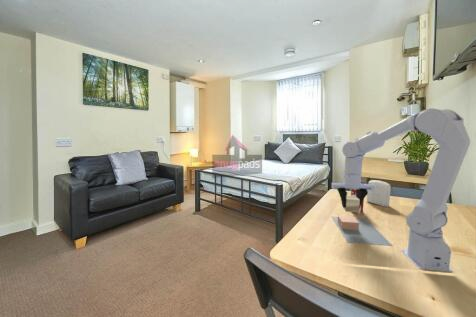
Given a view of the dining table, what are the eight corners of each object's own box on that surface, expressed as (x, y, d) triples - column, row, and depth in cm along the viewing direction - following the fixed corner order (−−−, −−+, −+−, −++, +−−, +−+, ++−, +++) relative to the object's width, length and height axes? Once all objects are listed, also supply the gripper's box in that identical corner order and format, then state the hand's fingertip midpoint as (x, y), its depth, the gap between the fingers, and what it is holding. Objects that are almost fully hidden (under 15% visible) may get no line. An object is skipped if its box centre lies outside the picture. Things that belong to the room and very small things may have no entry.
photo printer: (390, 206, 106) (392, 182, 104) (386, 207, 104) (388, 183, 102) (370, 200, 115) (371, 178, 113) (365, 201, 113) (366, 179, 111)
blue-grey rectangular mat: (392, 247, 69) (393, 245, 69) (347, 243, 72) (347, 242, 72) (365, 219, 90) (365, 218, 90) (331, 217, 93) (331, 216, 93)
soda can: (364, 214, 95) (366, 189, 94) (352, 214, 96) (353, 189, 95) (360, 210, 100) (361, 186, 99) (348, 210, 102) (350, 186, 100)
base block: (358, 230, 80) (359, 222, 80) (341, 229, 81) (342, 221, 81) (353, 223, 86) (353, 216, 85) (337, 222, 87) (337, 215, 87)
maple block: (359, 212, 80) (359, 199, 79) (346, 211, 80) (347, 199, 80) (354, 208, 84) (355, 196, 83) (342, 207, 85) (343, 195, 84)
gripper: (369, 171, 83) (366, 204, 84) (330, 170, 85) (328, 202, 87) (377, 175, 76) (374, 211, 78) (334, 174, 79) (333, 208, 80)
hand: (350, 207), depth 82 cm, fingers closed on maple block, 4 cm apart
